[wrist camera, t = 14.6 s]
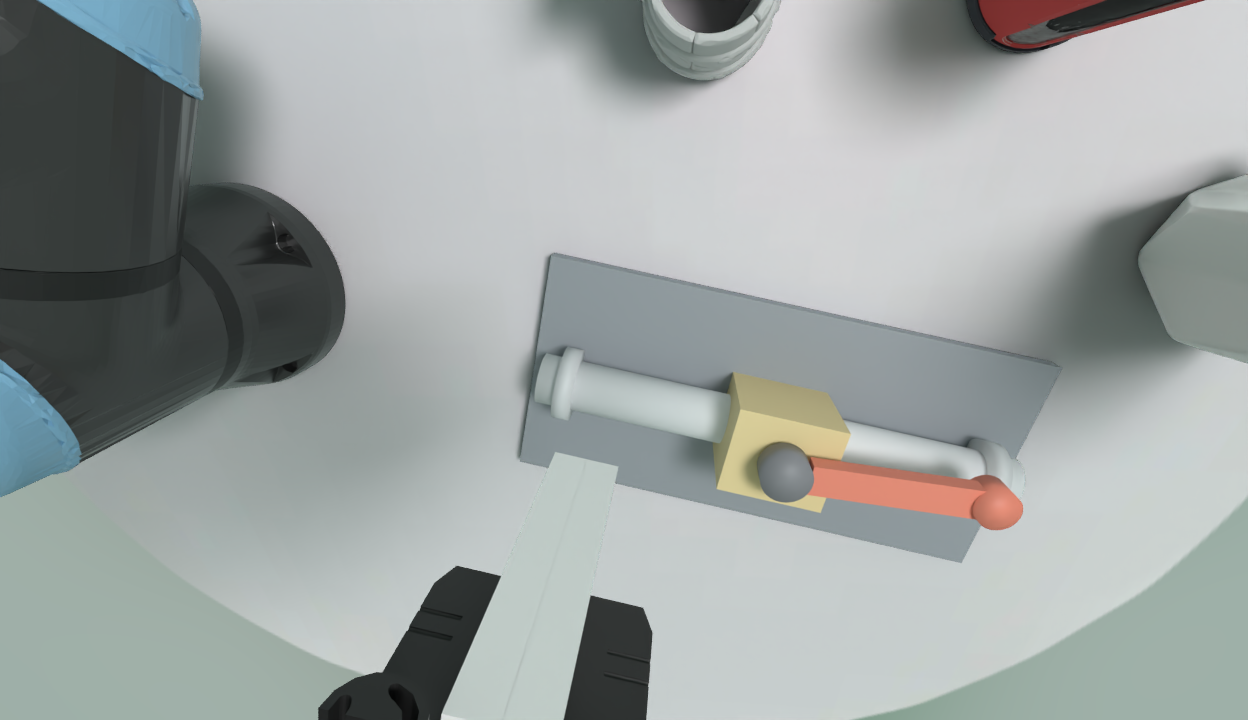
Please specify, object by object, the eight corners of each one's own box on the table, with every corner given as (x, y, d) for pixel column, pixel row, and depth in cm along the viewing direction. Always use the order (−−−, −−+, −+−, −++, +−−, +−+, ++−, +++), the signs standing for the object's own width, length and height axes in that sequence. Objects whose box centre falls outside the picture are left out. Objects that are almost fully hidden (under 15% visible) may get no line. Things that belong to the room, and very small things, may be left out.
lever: (752, 481, 37) (755, 499, 35) (761, 438, 36) (765, 454, 34) (995, 517, 36) (1012, 537, 35) (1013, 474, 35) (1031, 492, 33)
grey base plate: (523, 453, 47) (495, 507, 40) (554, 252, 41) (527, 274, 34) (954, 552, 46) (1002, 626, 39) (1051, 361, 40) (1129, 407, 33)
